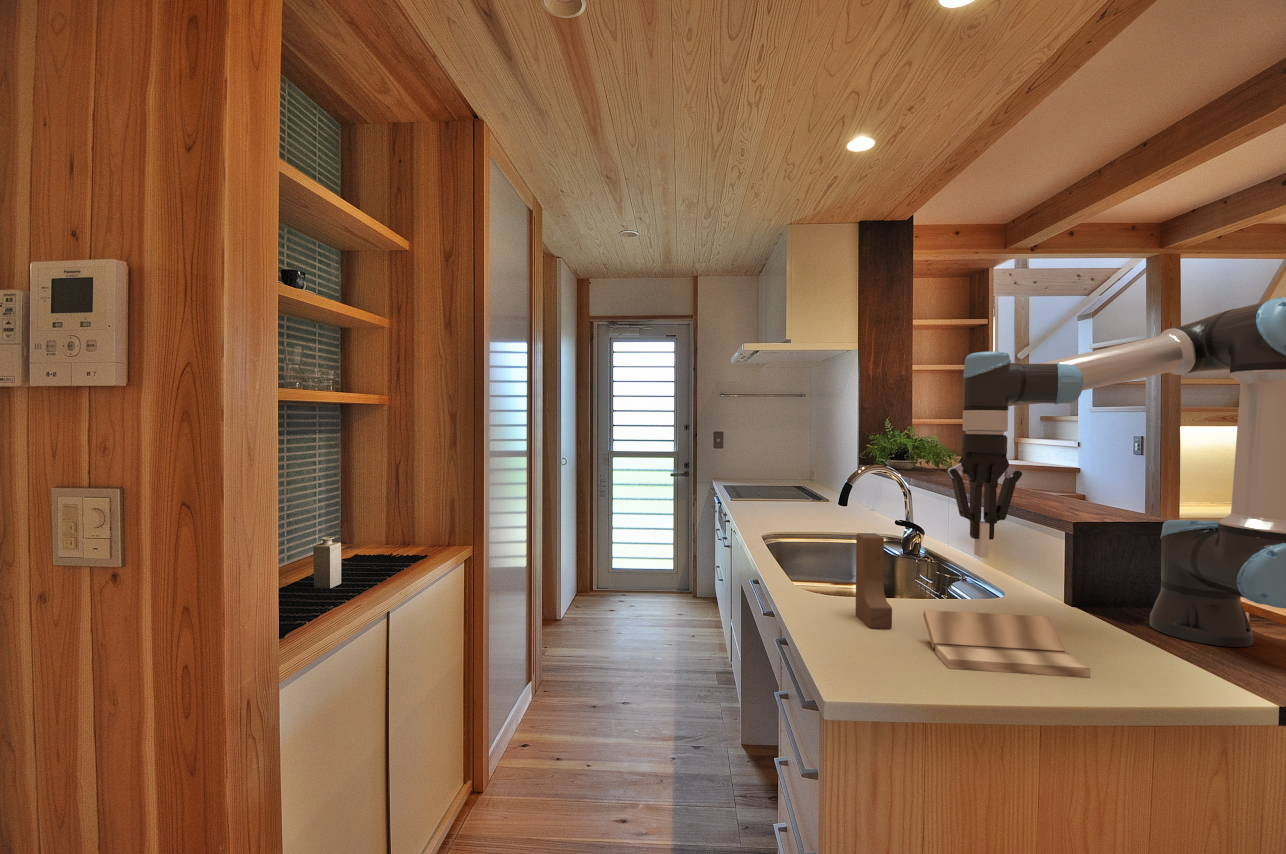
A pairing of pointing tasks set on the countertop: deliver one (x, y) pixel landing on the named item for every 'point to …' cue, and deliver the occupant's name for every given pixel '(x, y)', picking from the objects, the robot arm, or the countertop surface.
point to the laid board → (1011, 660)
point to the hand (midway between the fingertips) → (981, 555)
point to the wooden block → (871, 582)
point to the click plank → (992, 631)
